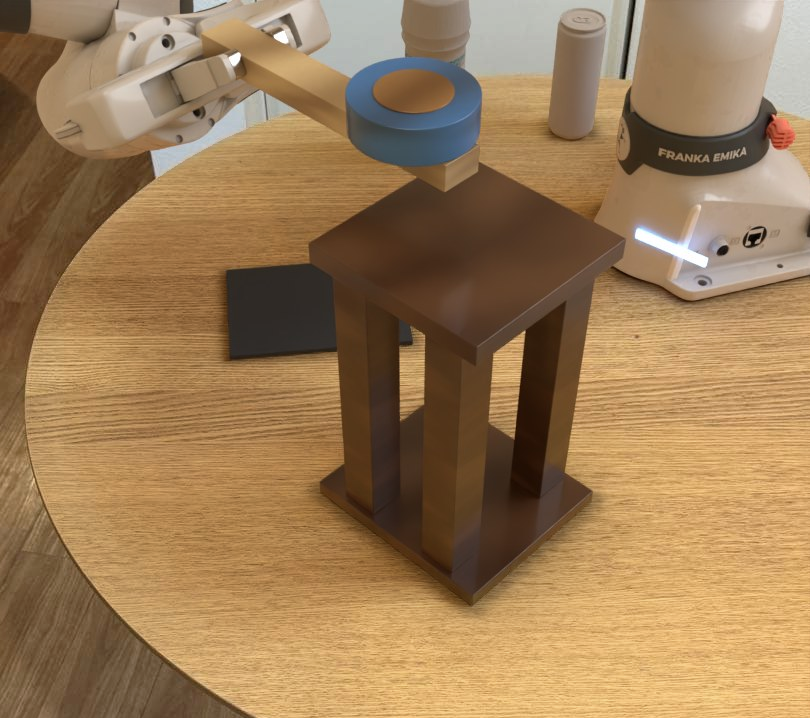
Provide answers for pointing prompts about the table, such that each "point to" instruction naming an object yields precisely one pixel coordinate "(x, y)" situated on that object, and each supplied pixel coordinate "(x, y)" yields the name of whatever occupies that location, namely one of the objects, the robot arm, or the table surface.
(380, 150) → the tan long bar
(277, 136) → the table surface
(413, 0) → the bottle
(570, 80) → the beverage can
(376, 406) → the stand
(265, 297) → the mat
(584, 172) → the table surface
